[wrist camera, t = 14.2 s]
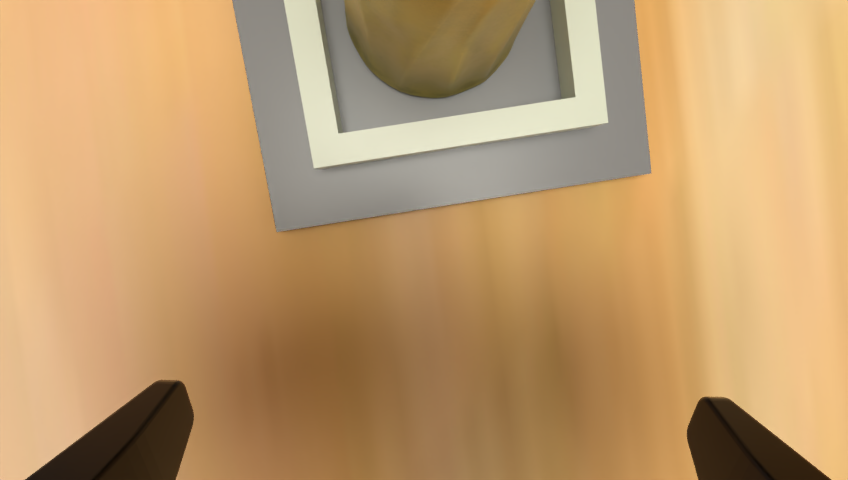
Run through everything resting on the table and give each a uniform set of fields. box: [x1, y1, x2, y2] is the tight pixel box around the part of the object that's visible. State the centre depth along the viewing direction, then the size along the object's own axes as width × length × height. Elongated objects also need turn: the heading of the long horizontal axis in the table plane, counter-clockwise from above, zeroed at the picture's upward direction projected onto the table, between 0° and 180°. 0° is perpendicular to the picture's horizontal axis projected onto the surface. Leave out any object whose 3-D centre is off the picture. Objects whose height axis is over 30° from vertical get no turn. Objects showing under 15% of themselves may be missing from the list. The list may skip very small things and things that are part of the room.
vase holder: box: [232, 0, 651, 232], centre depth 18 cm, size 14×14×2 cm
